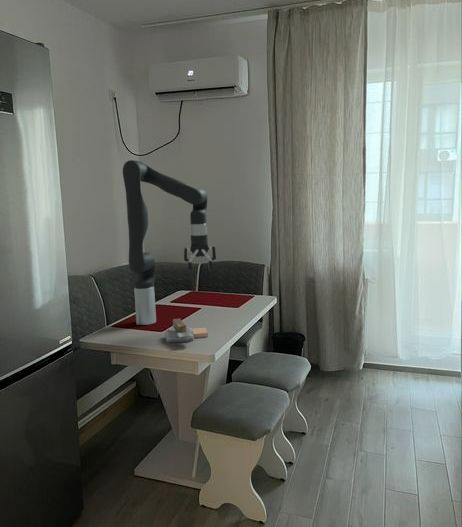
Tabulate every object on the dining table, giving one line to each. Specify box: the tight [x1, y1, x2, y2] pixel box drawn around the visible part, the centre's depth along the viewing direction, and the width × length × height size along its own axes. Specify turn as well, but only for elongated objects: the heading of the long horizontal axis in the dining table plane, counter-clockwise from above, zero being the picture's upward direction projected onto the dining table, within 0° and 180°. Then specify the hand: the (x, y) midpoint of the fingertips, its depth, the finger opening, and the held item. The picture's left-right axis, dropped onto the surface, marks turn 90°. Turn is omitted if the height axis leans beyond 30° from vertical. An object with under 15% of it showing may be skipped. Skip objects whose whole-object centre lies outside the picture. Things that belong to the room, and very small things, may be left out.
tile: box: [191, 327, 209, 339], centre depth 194 cm, size 6×2×8 cm
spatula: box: [172, 318, 193, 339], centre depth 186 cm, size 5×18×4 cm, turn 19°
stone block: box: [164, 326, 195, 343], centre depth 189 cm, size 12×5×10 cm
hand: (200, 269), depth 205 cm, fingers open, 8 cm apart
